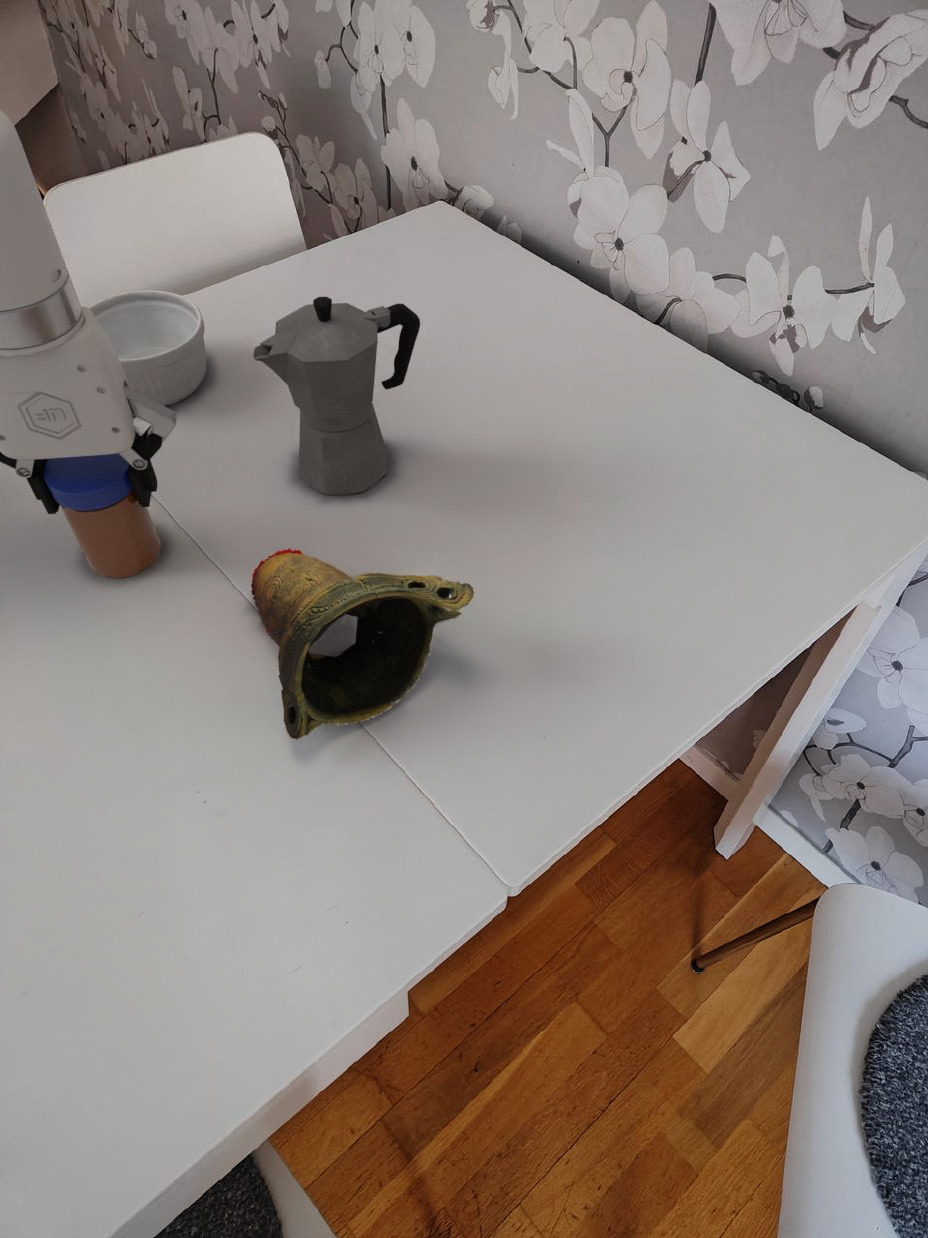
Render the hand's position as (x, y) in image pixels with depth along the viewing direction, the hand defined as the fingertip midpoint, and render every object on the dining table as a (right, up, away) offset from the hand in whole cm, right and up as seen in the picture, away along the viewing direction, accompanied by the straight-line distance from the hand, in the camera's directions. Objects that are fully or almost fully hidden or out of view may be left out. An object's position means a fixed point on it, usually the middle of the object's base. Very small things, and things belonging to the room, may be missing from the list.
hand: (101, 498), depth 73 cm
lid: (0, +2, -3) cm, 3 cm away
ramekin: (-3, +16, +22) cm, 27 cm away
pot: (+22, -14, -3) cm, 26 cm away
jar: (0, -4, +5) cm, 7 cm away
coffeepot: (+20, +5, +13) cm, 24 cm away
